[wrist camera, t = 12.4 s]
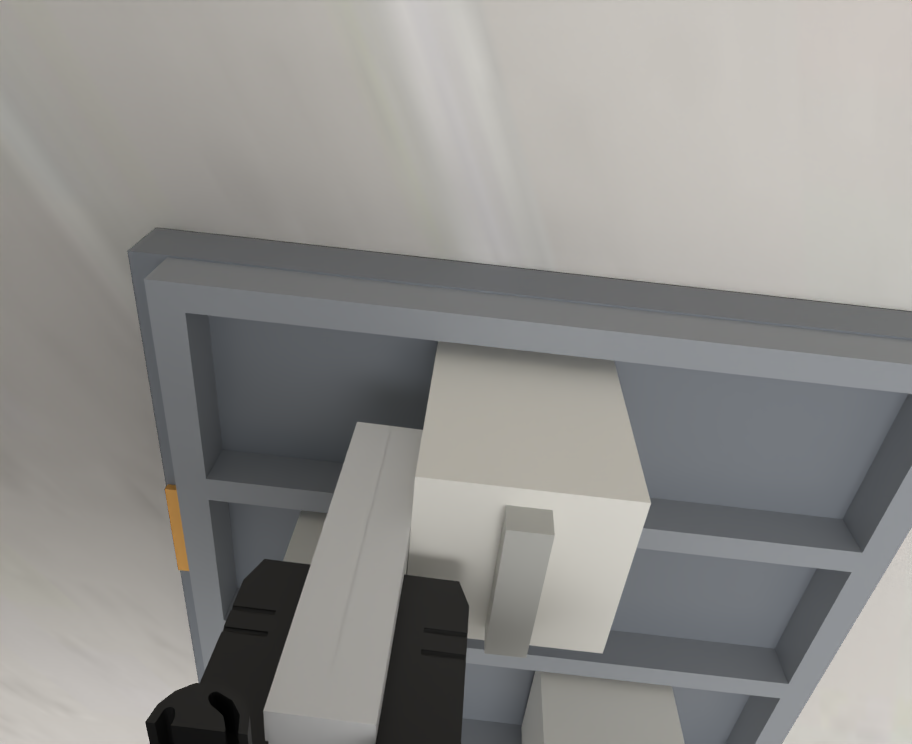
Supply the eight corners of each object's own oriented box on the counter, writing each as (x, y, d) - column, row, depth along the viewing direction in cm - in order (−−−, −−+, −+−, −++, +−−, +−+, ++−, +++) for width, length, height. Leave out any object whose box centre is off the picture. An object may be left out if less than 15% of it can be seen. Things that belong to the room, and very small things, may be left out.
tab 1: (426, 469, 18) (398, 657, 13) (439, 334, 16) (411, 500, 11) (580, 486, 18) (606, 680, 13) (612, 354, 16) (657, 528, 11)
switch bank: (216, 664, 26) (188, 734, 24) (156, 227, 17) (100, 272, 15) (751, 724, 26) (776, 800, 24) (973, 318, 17) (1047, 377, 15)
